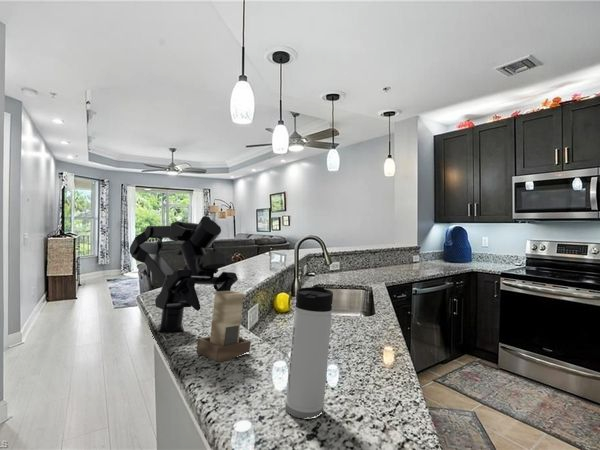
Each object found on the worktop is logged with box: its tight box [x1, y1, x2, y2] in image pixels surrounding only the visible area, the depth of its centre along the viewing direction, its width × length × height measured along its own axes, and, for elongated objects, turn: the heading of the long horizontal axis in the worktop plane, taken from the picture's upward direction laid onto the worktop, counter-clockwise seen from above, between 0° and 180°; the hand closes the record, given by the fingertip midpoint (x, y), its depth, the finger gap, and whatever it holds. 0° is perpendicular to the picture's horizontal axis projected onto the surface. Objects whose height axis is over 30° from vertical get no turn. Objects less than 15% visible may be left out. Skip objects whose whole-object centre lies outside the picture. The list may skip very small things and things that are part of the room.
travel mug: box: [284, 285, 334, 419], centre depth 54 cm, size 6×7×20 cm
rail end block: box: [209, 290, 245, 347], centre depth 76 cm, size 5×5×14 cm
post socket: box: [196, 336, 251, 363], centre depth 76 cm, size 8×9×3 cm
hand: (214, 309), depth 79 cm, fingers open, 9 cm apart
